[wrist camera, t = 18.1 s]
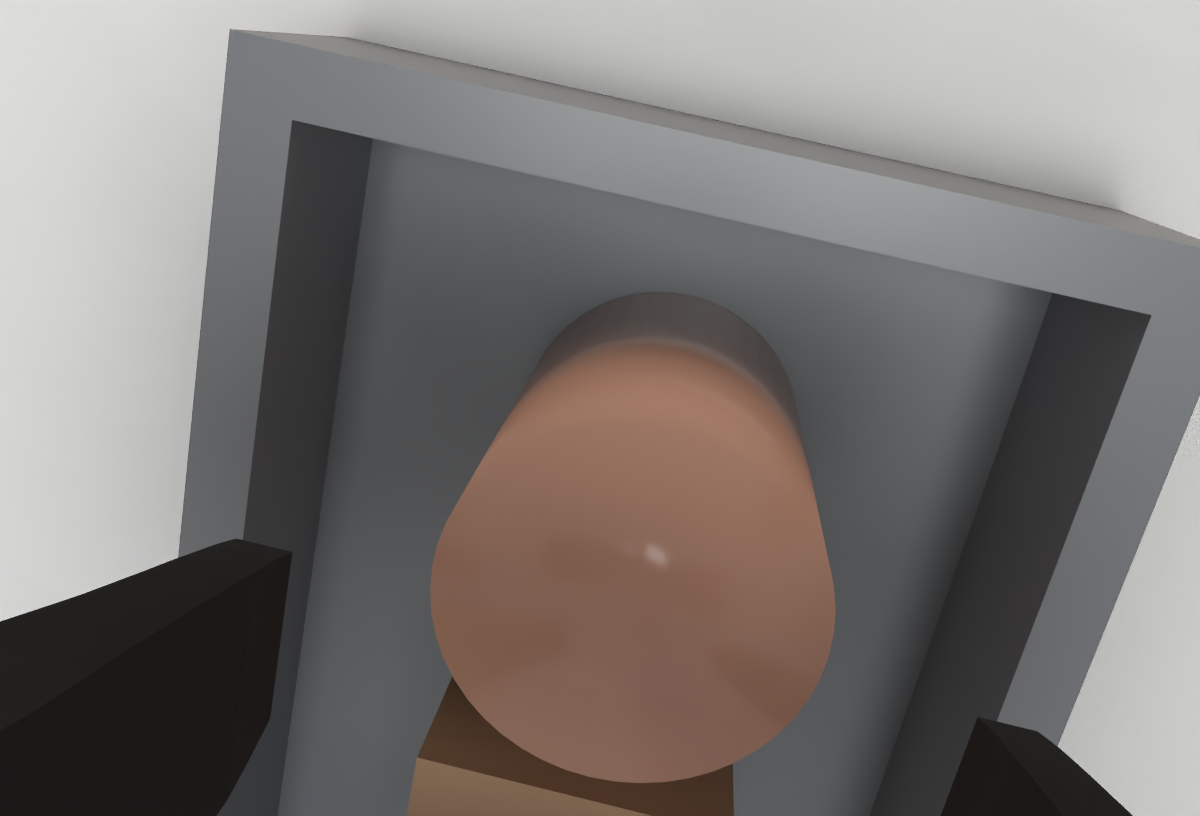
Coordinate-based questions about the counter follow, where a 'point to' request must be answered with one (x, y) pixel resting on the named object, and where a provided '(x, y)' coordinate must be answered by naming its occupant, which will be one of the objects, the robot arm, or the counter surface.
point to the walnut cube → (536, 778)
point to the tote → (709, 272)
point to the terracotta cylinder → (640, 550)
